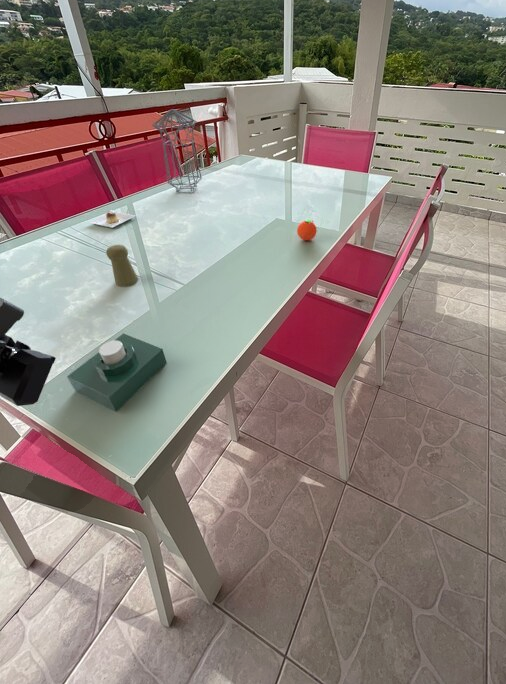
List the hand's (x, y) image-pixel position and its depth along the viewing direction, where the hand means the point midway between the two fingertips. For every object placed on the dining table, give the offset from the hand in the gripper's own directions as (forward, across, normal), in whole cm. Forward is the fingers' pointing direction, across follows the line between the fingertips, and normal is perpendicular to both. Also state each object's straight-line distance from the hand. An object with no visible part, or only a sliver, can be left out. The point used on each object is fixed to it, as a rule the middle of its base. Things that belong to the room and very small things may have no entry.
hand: (53, 359), depth 52 cm
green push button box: (+16, 0, +3) cm, 16 cm away
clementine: (+68, -9, -48) cm, 84 cm away
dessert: (+54, +65, -35) cm, 92 cm away
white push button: (+12, 0, -1) cm, 12 cm away
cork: (+34, +27, -15) cm, 46 cm away
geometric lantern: (+84, +64, -65) cm, 124 cm away
